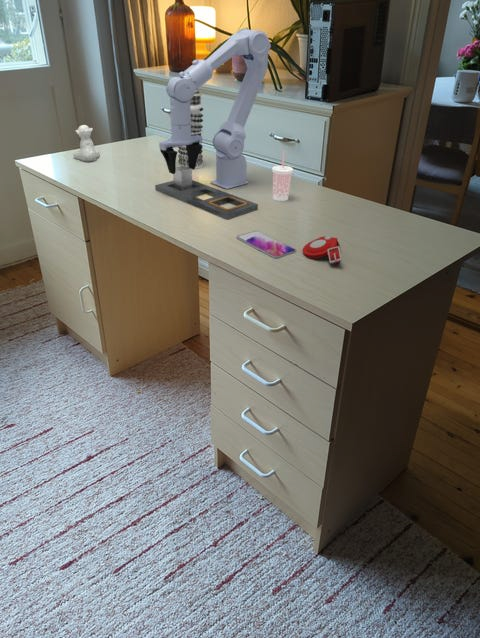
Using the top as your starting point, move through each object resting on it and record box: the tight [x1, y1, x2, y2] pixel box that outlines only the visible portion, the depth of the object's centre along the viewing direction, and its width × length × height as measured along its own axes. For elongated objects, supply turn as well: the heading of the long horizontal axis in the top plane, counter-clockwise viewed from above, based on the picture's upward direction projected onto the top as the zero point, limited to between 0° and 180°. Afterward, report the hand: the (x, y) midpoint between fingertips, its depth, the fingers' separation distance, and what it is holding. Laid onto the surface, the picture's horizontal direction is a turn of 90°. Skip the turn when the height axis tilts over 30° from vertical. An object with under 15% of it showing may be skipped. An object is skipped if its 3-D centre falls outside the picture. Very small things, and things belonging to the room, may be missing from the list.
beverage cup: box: [271, 150, 294, 202], centre depth 152 cm, size 6×6×14 cm
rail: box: [154, 179, 259, 220], centre depth 153 cm, size 12×32×2 cm, turn 45°
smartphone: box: [235, 230, 297, 260], centre depth 127 cm, size 7×1×15 cm
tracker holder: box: [302, 236, 343, 265], centre depth 122 cm, size 12×4×10 cm
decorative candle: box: [177, 88, 204, 170], centre depth 175 cm, size 9×9×25 cm
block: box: [172, 165, 193, 191], centre depth 157 cm, size 4×4×7 cm
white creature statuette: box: [72, 124, 101, 163], centre depth 182 cm, size 10×9×12 cm
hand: (182, 170), depth 156 cm, fingers open, 7 cm apart
